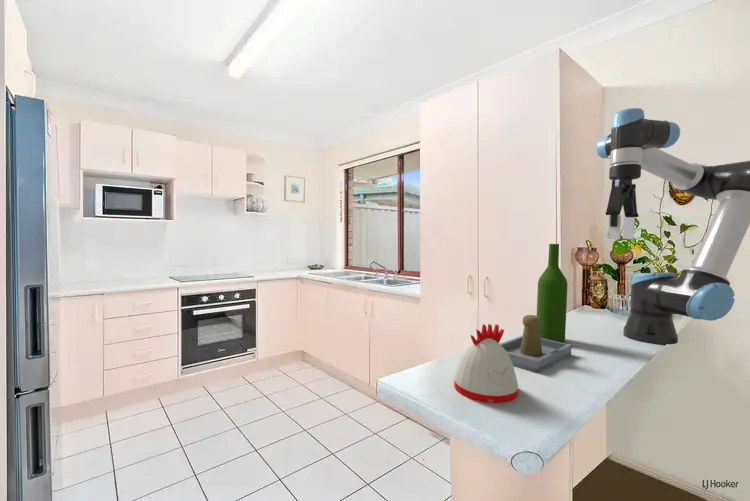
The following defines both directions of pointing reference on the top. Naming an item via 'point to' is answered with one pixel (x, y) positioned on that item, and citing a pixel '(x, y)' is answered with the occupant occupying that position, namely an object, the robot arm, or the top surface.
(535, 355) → the cork
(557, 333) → the wine bottle
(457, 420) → the top surface
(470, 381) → the kitchen timer
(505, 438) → the top surface
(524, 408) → the top surface
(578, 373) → the top surface
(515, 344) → the slate tray
